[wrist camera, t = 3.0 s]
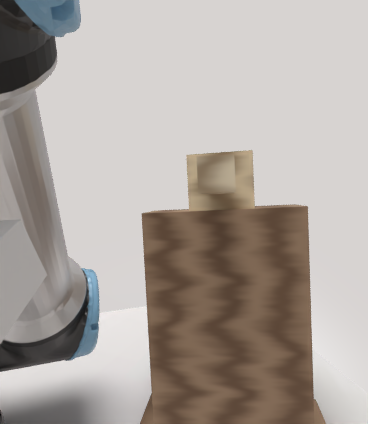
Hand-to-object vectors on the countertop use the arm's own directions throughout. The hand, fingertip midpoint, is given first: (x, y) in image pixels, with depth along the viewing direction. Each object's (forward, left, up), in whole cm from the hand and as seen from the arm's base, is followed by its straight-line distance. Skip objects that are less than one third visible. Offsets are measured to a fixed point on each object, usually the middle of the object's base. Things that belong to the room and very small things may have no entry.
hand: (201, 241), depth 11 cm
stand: (0, +30, -30) cm, 42 cm away
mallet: (0, +24, 0) cm, 24 cm away
